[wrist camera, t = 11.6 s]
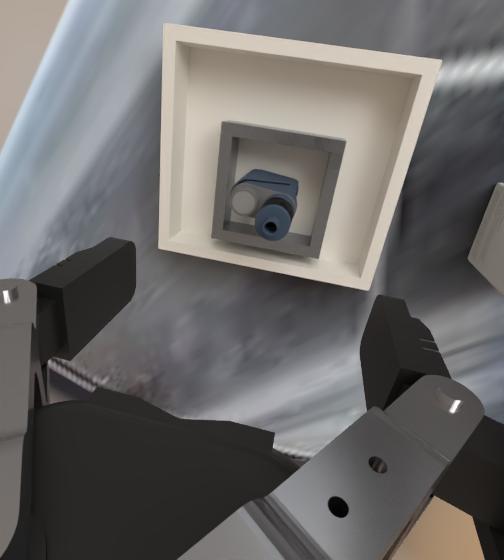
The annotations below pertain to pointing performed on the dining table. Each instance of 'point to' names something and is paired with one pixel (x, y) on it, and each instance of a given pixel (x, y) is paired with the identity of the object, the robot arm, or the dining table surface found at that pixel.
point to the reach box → (282, 158)
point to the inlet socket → (226, 180)
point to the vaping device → (266, 202)
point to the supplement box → (491, 241)
